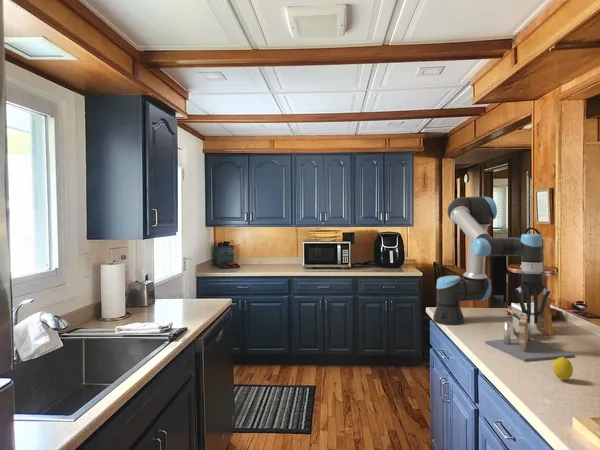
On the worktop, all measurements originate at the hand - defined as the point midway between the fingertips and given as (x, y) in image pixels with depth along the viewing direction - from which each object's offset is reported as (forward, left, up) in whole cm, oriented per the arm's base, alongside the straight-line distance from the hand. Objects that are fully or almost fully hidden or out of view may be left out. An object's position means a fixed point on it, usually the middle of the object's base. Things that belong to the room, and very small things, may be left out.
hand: (532, 331), depth 173 cm
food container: (-19, +11, -9) cm, 24 cm away
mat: (-3, 0, -9) cm, 9 cm away
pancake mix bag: (-26, +27, -9) cm, 39 cm away
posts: (-10, +1, -9) cm, 13 cm away
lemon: (+28, -12, -9) cm, 32 cm away
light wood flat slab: (-4, -1, -6) cm, 7 cm away
